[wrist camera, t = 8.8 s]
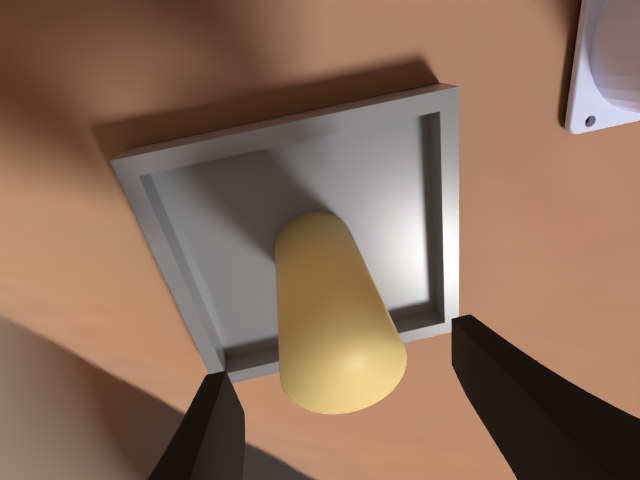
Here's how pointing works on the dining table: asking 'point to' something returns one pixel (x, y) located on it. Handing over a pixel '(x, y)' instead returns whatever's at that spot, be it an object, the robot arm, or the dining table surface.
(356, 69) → the dining table surface
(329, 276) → the pin
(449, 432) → the dining table surface
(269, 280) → the tray
